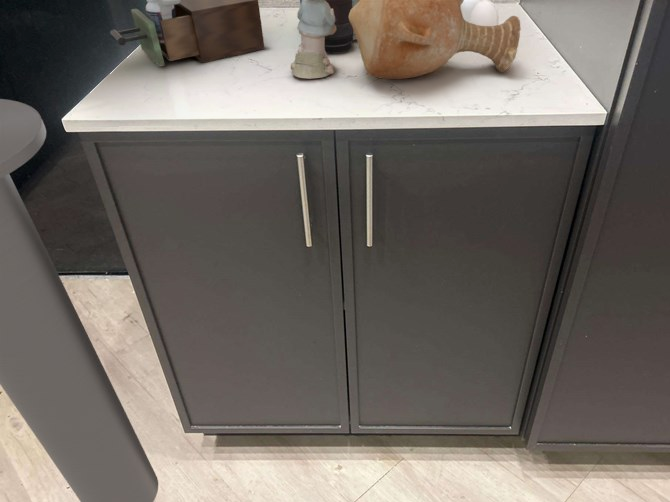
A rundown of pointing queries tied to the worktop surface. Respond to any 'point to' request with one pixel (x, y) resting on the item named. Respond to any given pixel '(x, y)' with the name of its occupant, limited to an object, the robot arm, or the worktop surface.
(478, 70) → the worktop surface
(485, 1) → the egg
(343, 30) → the camera lens
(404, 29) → the jug
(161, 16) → the robot arm
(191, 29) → the drawer
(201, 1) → the cabinet
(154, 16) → the pill bottle
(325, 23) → the figurine
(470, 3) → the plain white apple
